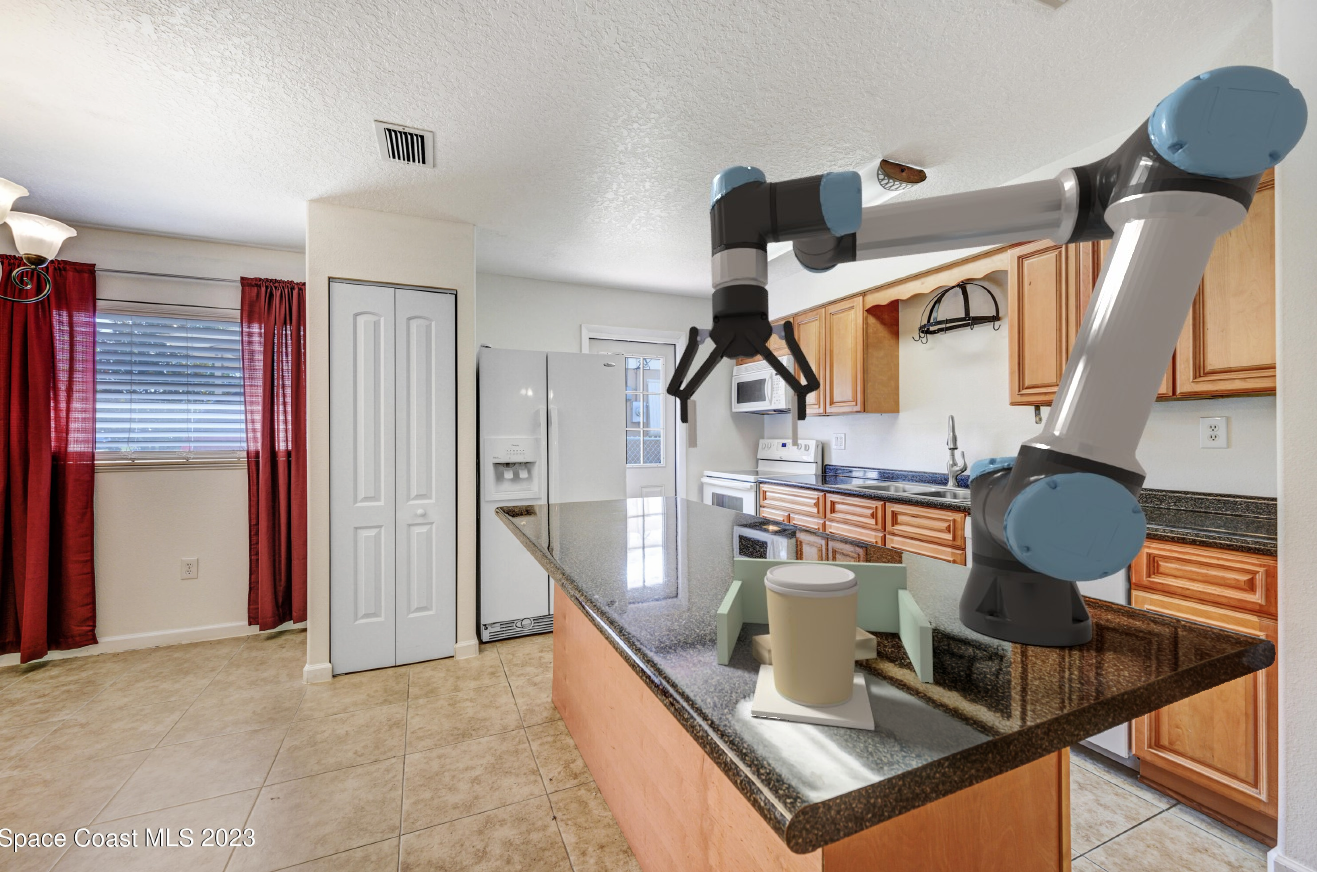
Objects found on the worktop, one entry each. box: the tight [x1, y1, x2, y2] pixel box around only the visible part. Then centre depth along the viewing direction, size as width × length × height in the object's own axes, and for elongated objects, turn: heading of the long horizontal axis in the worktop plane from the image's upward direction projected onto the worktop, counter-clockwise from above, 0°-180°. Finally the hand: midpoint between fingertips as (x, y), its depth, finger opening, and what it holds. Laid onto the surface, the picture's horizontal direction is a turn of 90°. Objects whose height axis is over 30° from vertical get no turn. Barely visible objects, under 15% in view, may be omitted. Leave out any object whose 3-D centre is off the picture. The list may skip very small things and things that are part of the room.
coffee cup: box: [764, 563, 859, 708], centre depth 56 cm, size 9×9×12 cm
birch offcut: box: [751, 626, 878, 665], centre depth 67 cm, size 14×4×3 cm, turn 103°
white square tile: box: [750, 663, 875, 731], centre depth 56 cm, size 11×11×1 cm
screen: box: [716, 557, 934, 684], centre depth 70 cm, size 23×17×9 cm
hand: (742, 447), depth 74 cm, fingers open, 13 cm apart
